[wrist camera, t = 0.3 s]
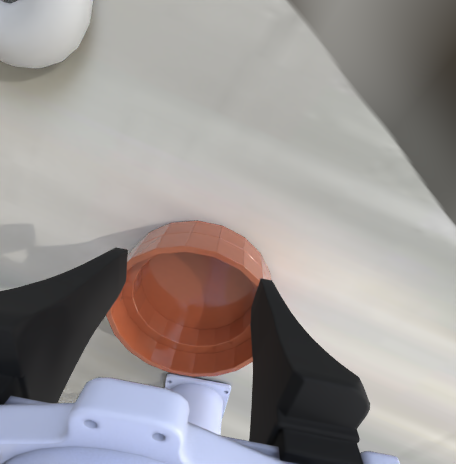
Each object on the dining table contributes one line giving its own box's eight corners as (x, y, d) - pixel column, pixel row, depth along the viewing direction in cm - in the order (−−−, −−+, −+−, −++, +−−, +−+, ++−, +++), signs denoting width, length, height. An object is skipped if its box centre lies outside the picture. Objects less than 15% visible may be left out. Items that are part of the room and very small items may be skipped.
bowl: (252, 345, 30) (253, 388, 26) (127, 321, 30) (106, 361, 26) (288, 235, 24) (297, 267, 20) (130, 204, 24) (103, 229, 19)
